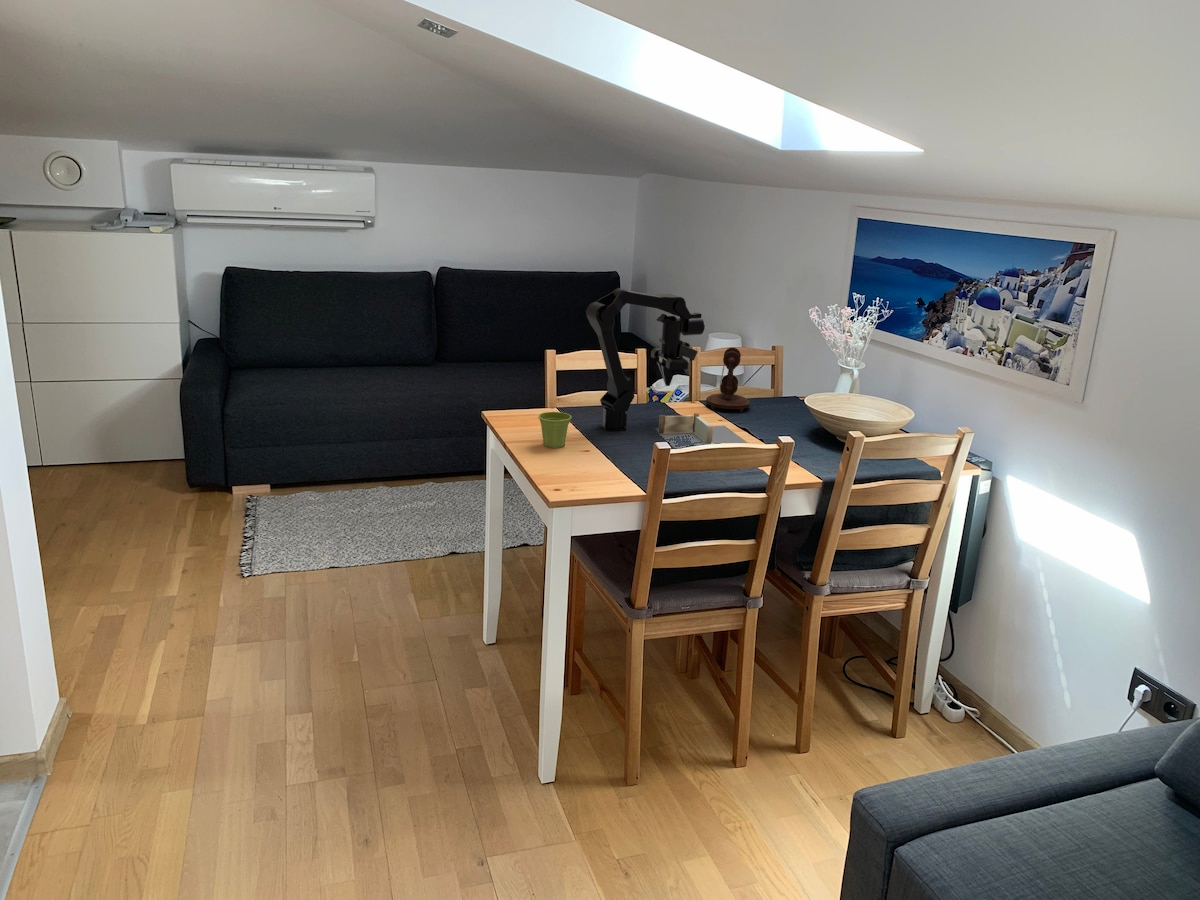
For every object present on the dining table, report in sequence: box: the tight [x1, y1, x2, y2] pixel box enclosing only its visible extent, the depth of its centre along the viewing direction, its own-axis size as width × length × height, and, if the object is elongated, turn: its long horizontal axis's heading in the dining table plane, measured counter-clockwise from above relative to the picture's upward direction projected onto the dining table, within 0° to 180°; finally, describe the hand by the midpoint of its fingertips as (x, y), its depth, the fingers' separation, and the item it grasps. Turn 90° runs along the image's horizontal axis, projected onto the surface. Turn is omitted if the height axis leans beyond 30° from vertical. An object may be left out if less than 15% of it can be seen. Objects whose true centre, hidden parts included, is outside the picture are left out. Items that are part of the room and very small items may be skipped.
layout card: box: [658, 425, 749, 449], centre depth 279 cm, size 24×21×1 cm
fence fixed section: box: [657, 412, 700, 434], centre depth 282 cm, size 13×2×6 cm, turn 105°
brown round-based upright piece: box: [705, 347, 751, 413], centre depth 311 cm, size 15×15×20 cm
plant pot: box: [537, 411, 572, 449], centre depth 263 cm, size 9×9×9 cm
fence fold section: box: [695, 416, 714, 443], centre depth 276 cm, size 12×2×5 cm, turn 15°
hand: (667, 385), depth 289 cm, fingers closed
